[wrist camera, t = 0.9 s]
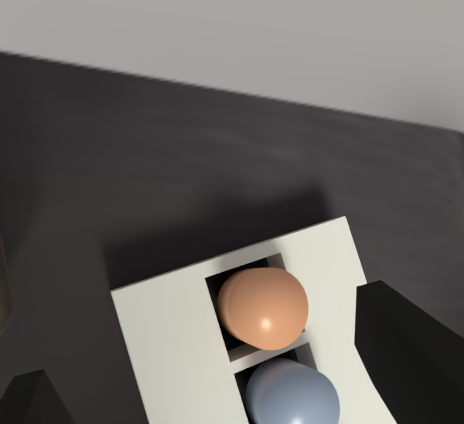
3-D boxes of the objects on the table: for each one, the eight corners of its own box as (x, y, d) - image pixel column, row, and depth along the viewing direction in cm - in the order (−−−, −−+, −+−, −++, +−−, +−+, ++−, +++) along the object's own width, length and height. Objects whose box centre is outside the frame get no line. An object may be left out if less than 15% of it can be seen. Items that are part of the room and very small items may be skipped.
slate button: (320, 415, 24) (350, 433, 22) (257, 446, 23) (280, 470, 20) (299, 346, 25) (325, 356, 22) (235, 373, 23) (254, 387, 21)
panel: (405, 472, 27) (433, 490, 25) (198, 593, 23) (209, 629, 20) (325, 220, 28) (345, 216, 26) (109, 290, 24) (111, 292, 21)
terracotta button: (293, 326, 25) (318, 333, 22) (229, 352, 23) (247, 362, 21) (272, 259, 25) (294, 257, 22) (207, 281, 24) (222, 282, 21)
